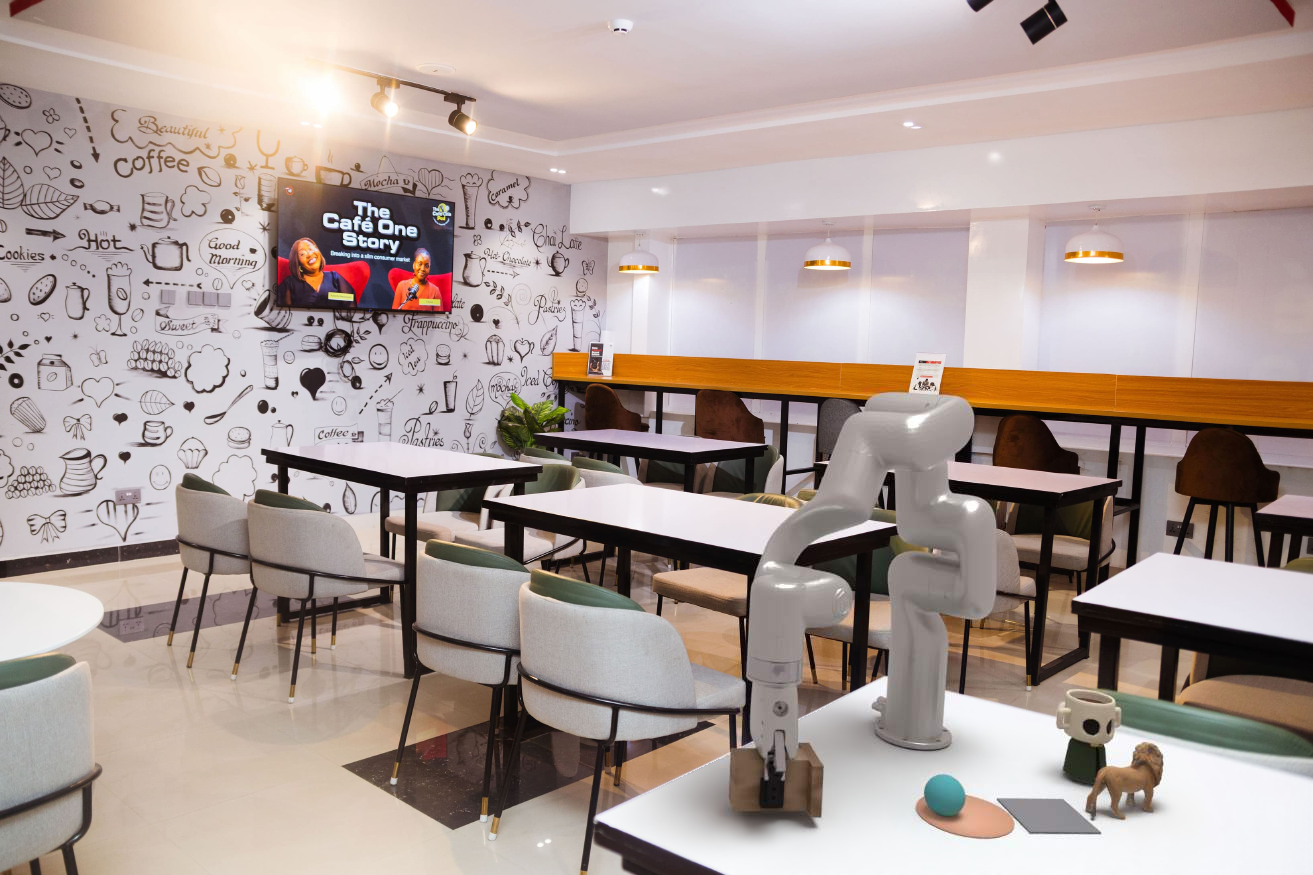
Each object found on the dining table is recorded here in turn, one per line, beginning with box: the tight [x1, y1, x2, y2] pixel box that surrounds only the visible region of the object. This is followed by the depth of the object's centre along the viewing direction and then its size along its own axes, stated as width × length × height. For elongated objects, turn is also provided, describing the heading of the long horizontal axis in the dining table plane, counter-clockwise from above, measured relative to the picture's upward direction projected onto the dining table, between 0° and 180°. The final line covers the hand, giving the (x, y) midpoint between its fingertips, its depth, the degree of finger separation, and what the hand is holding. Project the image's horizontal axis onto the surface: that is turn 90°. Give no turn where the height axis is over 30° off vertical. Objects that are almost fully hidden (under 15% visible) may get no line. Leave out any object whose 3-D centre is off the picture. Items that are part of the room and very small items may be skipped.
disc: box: [915, 794, 1015, 839], centre depth 128 cm, size 13×13×1 cm
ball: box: [923, 773, 966, 817], centre depth 128 cm, size 6×6×6 cm
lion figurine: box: [1085, 741, 1165, 820], centre depth 132 cm, size 15×5×9 cm, turn 122°
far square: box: [996, 797, 1102, 835], centre depth 129 cm, size 10×10×1 cm
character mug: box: [1055, 688, 1122, 784], centre depth 143 cm, size 11×7×13 cm, turn 100°
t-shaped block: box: [728, 742, 825, 819], centre depth 126 cm, size 12×8×7 cm
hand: (767, 797), depth 126 cm, fingers closed on t-shaped block, 4 cm apart
